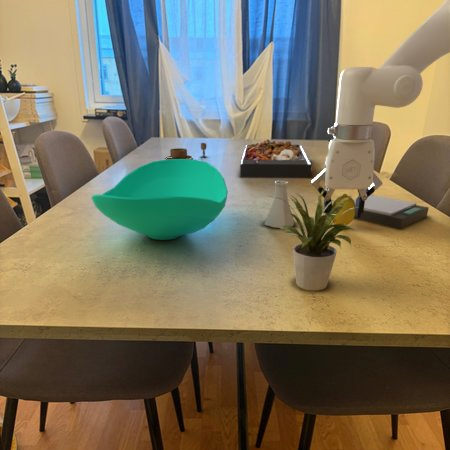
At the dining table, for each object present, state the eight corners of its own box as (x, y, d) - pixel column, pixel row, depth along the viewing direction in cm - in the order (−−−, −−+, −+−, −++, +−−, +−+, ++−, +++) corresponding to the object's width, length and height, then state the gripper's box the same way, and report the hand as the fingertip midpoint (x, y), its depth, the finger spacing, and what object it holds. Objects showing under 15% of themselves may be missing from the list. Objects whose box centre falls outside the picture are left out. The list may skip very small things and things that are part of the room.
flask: (299, 222, 105) (302, 180, 100) (287, 230, 99) (290, 187, 95) (272, 218, 108) (273, 177, 103) (259, 226, 103) (260, 183, 98)
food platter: (310, 177, 150) (313, 146, 146) (240, 177, 152) (240, 146, 148) (301, 156, 190) (302, 131, 185) (245, 156, 192) (245, 131, 187)
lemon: (328, 230, 99) (332, 196, 95) (329, 223, 104) (332, 190, 100) (353, 232, 98) (358, 197, 94) (353, 225, 103) (357, 191, 99)
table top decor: (213, 272, 78) (211, 200, 72) (69, 265, 82) (56, 195, 76) (236, 212, 113) (236, 159, 107) (134, 208, 117) (129, 158, 111)
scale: (426, 216, 108) (429, 205, 107) (400, 229, 100) (402, 216, 98) (369, 204, 119) (370, 193, 117) (340, 215, 110) (342, 203, 109)
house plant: (258, 300, 68) (262, 198, 61) (265, 266, 81) (268, 178, 73) (351, 306, 66) (366, 201, 59) (343, 271, 79) (355, 180, 71)
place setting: (161, 159, 187) (160, 144, 184) (205, 156, 192) (205, 142, 190) (169, 166, 172) (168, 150, 170) (216, 162, 178) (216, 147, 175)
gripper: (314, 135, 88) (307, 221, 96) (399, 135, 88) (385, 221, 96) (308, 131, 95) (302, 211, 103) (388, 131, 94) (375, 211, 103)
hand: (342, 215), depth 99 cm, fingers open, 6 cm apart
